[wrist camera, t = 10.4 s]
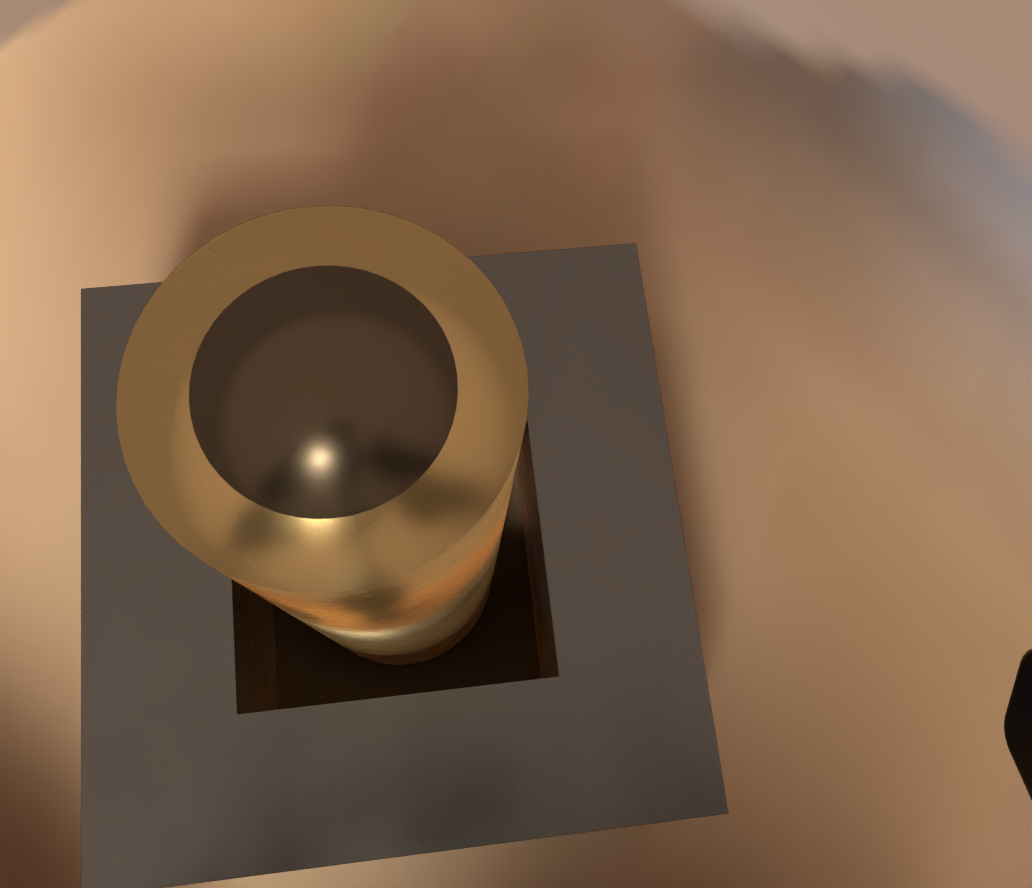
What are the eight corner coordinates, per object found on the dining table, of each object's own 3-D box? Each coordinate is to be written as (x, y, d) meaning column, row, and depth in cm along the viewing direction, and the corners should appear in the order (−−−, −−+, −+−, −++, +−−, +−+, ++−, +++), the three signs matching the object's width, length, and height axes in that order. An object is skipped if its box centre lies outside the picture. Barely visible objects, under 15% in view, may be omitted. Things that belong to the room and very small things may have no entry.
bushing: (501, 653, 21) (552, 568, 9) (315, 674, 21) (116, 615, 9) (481, 475, 22) (504, 188, 10) (304, 493, 22) (113, 218, 10)
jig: (678, 795, 21) (728, 813, 17) (155, 863, 20) (81, 898, 16) (607, 320, 23) (635, 243, 20) (146, 361, 23) (81, 289, 19)
